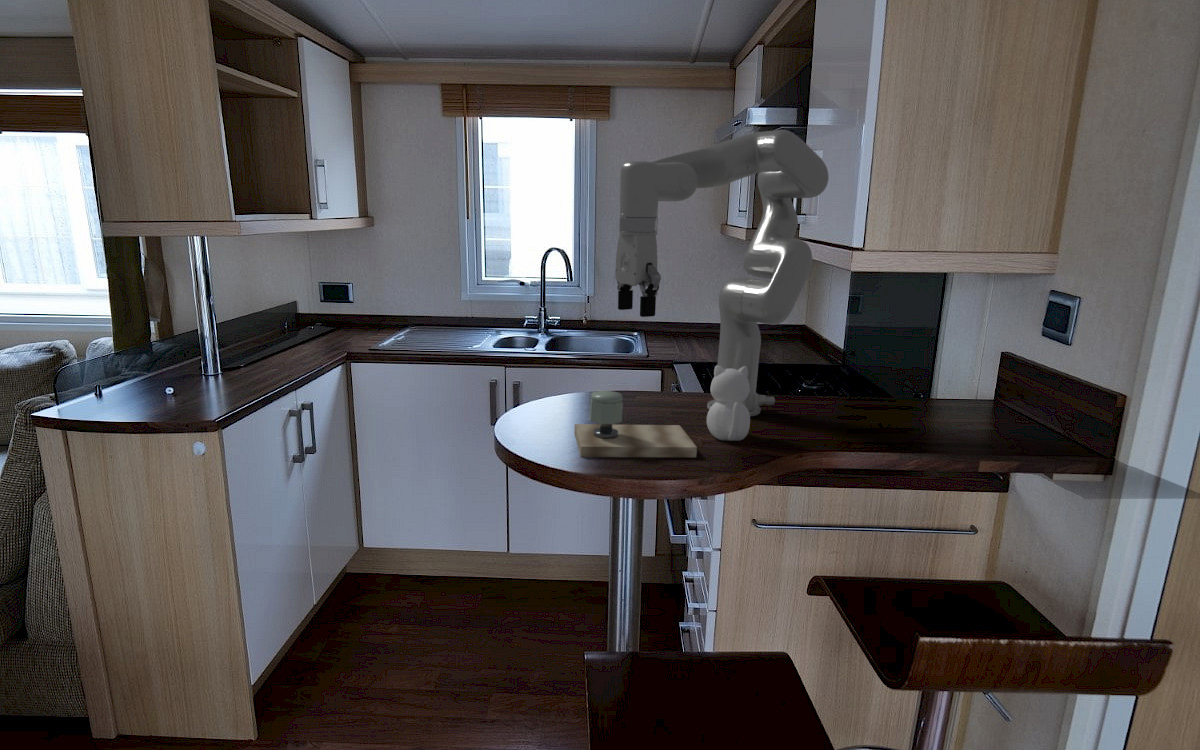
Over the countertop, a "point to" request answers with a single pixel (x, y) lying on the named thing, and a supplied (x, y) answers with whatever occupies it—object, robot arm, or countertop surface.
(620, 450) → the board
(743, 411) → the cat figurine
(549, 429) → the countertop surface
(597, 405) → the cap
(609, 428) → the pin
